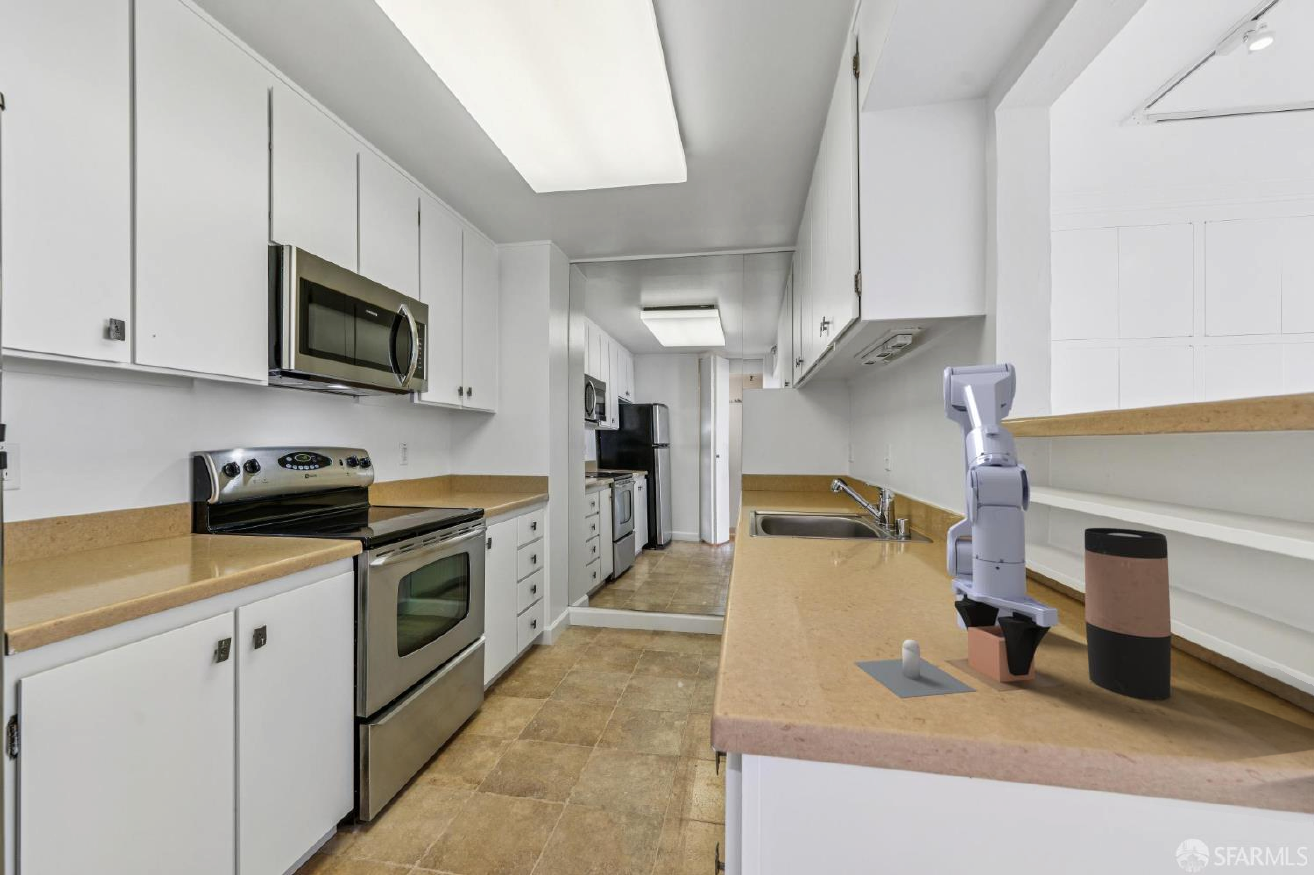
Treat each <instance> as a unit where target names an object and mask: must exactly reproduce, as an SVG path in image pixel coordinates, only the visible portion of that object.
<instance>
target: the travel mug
mask: <svg viewBox="0 0 1314 875" xmlns="http://www.w3.org/2000/svg"><path fill="white" fill-rule="evenodd" d="M1167 540H1168V539H1167V537H1166V535H1164V534H1163V533H1159V532H1155V531H1149V530H1148V531H1147V530H1140V529H1128V528H1118V527H1117V528H1116V527H1112V528H1111V527H1089V528H1088V527H1087V528H1085V529H1084V590H1085V591H1084V594H1085V596H1084V599H1085V600H1084V602H1085V603H1084V604H1085V605H1084V606H1085V608H1084V609H1085V630H1086V631H1085V632H1086V647H1087V661H1088V663H1087V664H1088V678H1089V680H1090V681H1091V683H1093V684H1094V685H1096V686H1098V687H1100V688H1102V689H1103V690H1106V691H1108V692H1111V693H1115V694H1117V695H1121V696H1125V697H1129V698H1135V699H1138V700H1146V701H1165V700H1166V701H1167V699H1170V697H1171V668H1172V666H1171V665H1172V663H1171V662H1172V661H1171V660H1172V657H1171V656H1172V636H1171V635H1172V627H1171V626H1172V624H1171V621H1172V620H1171V601H1170V600H1171V598H1170V579H1169V559H1168V558H1169V557H1168V556H1169V553H1168V541H1167Z"/></svg>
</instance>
